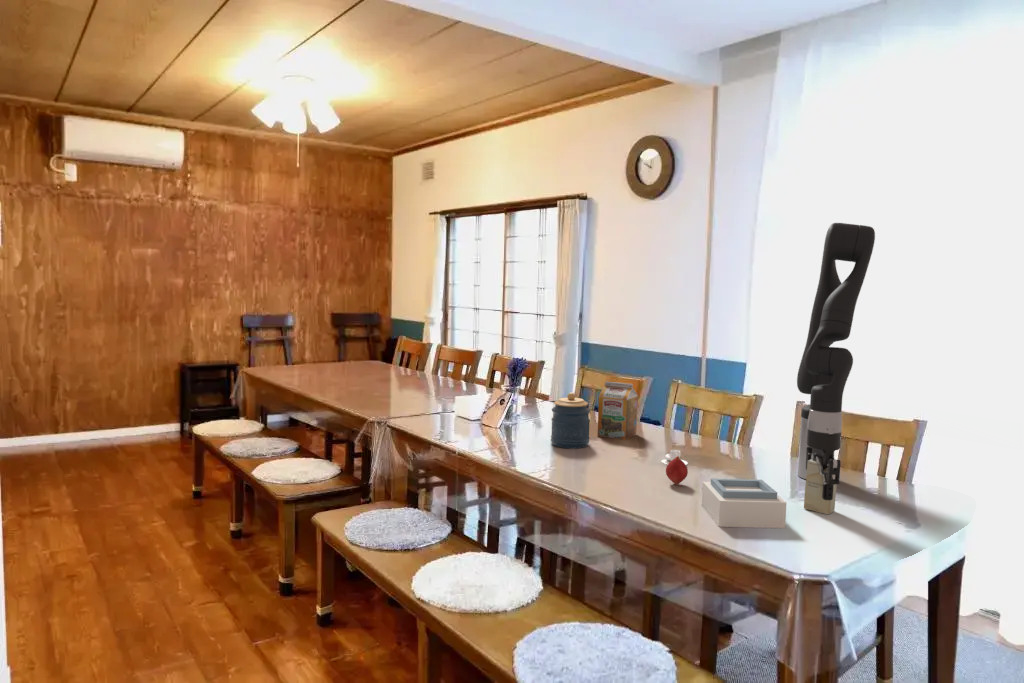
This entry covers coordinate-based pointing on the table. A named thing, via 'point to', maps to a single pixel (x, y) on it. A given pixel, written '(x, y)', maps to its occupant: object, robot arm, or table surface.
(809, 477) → the skincare box
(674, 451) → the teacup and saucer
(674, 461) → the onion
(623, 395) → the milk carton
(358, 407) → the table surface
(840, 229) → the robot arm
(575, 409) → the canister
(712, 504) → the frame
